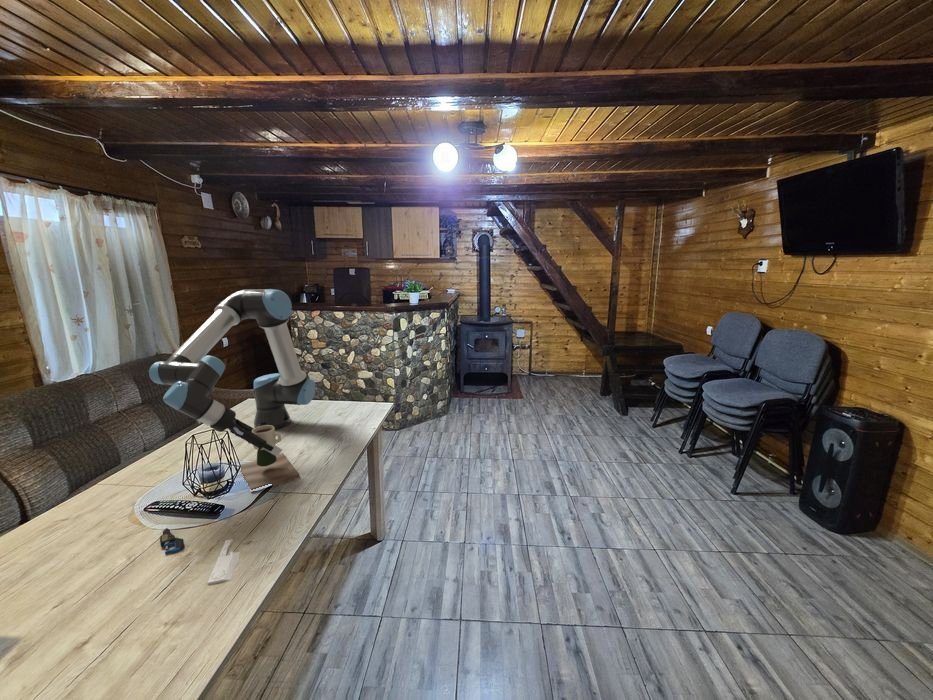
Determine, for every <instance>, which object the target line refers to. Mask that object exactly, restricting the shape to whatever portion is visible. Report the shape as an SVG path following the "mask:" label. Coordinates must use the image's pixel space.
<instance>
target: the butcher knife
mask: <svg viewBox="0 0 933 700" xmlns="http://www.w3.org/2000/svg"><path fill="white" fill-rule="evenodd" d="M232 541H234V540H233V539H226V540H225V541H224V544H223V546H222V548H221V551H220V553H219V555H218V557H217V560H216V561H215V565H214V566H213V569H212V572H211V574H210V576H209V579H208V581H207V585H214V584H217V583H223V582H228V581H231V578H232V577H233V573H234V570H235V567H236V564H237V562H238V559H239V557H240V554H241V551H239V552H238V551H237V552H234V551H230V554H229V555H228V551H229V549H230V546H231V545H232V544H233V542H232ZM238 556H239V557H238Z"/></svg>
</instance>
